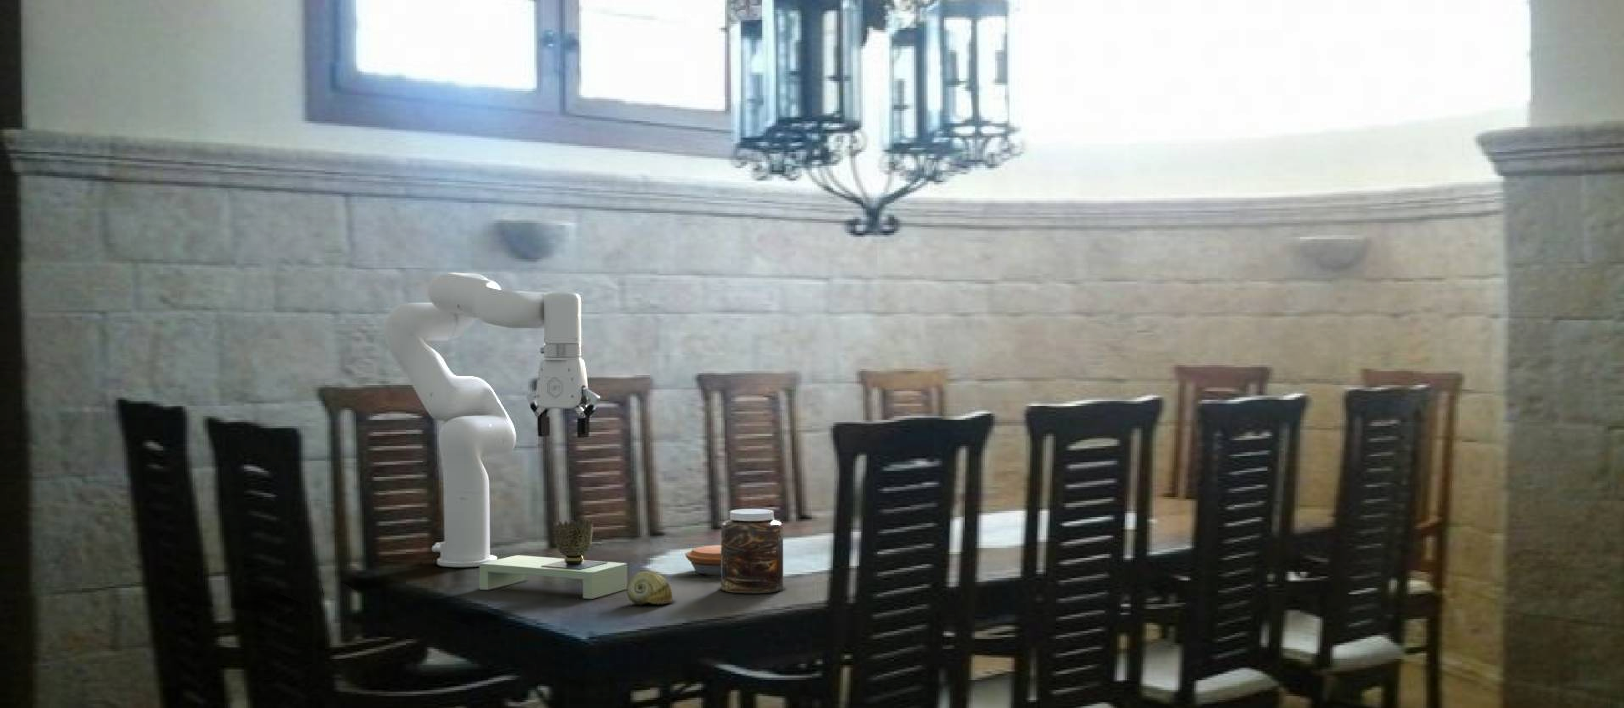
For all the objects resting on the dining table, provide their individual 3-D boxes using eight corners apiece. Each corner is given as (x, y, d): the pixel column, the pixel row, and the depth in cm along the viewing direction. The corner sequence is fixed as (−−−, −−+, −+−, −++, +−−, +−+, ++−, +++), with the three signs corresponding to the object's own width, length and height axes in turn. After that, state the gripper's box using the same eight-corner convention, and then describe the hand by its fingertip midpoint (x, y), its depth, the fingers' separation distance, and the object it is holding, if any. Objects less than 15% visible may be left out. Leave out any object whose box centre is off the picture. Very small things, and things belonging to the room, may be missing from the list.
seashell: (652, 621, 281) (626, 587, 283) (682, 597, 282) (656, 563, 283) (643, 621, 272) (616, 586, 273) (674, 596, 272) (647, 561, 274)
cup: (601, 562, 293) (600, 520, 293) (579, 567, 286) (579, 525, 286) (568, 560, 296) (568, 519, 296) (546, 565, 289) (546, 523, 289)
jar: (771, 582, 300) (771, 506, 300) (791, 591, 289) (790, 513, 289) (714, 586, 296) (713, 509, 295) (731, 595, 285) (731, 516, 284)
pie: (774, 572, 312) (774, 548, 312) (707, 579, 304) (707, 554, 304) (737, 563, 325) (737, 539, 325) (672, 569, 317) (672, 545, 317)
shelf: (479, 589, 293) (479, 562, 293) (517, 580, 304) (517, 554, 304) (591, 599, 282) (591, 571, 282) (627, 589, 293) (626, 562, 293)
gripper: (517, 353, 310) (517, 436, 310) (587, 353, 302) (588, 439, 303) (539, 352, 317) (539, 434, 317) (608, 352, 309) (609, 436, 309)
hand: (563, 436), depth 310 cm, fingers open, 9 cm apart
